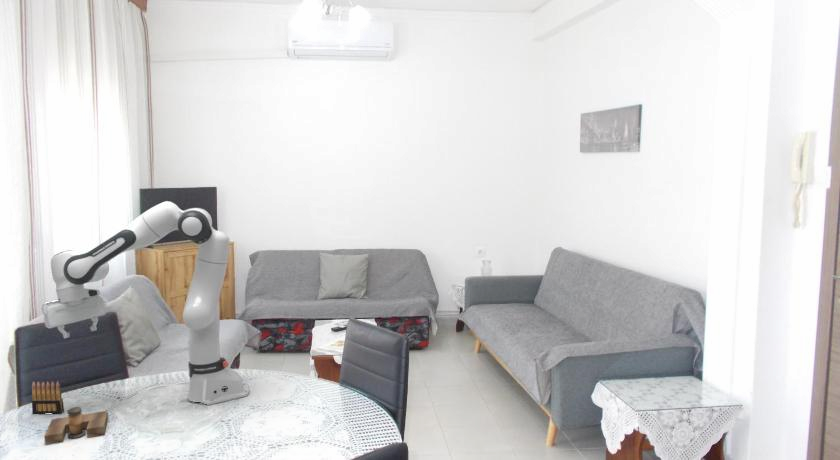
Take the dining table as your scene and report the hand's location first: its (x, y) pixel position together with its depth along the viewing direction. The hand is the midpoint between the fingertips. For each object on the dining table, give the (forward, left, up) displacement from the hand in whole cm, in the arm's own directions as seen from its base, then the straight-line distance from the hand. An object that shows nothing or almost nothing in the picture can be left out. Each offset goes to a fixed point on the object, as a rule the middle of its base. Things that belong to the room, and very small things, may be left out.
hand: (80, 334), depth 224 cm
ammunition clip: (+13, -4, -29) cm, 32 cm away
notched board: (+1, +18, -29) cm, 34 cm away
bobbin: (+1, +22, -29) cm, 36 cm away
